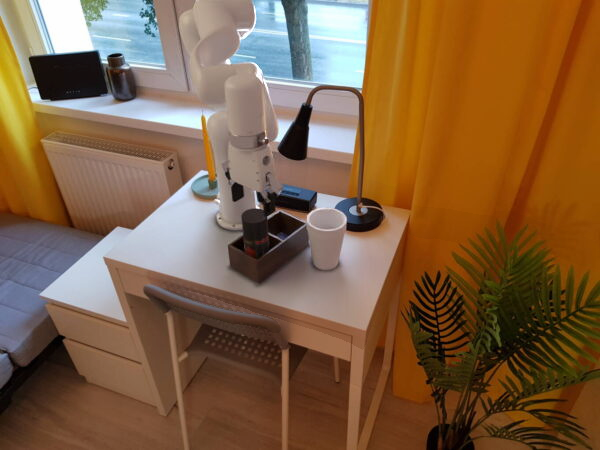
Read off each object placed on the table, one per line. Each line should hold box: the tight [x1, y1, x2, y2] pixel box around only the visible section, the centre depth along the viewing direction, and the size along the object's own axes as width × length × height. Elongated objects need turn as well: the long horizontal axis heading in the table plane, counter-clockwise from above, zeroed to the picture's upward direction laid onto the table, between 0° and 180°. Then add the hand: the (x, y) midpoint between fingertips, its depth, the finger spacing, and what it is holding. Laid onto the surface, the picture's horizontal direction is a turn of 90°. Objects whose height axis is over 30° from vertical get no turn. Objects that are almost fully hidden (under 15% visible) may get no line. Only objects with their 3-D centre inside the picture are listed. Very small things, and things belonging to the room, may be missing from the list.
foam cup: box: [306, 207, 348, 271], centre depth 118 cm, size 10×9×13 cm
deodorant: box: [241, 208, 269, 260], centre depth 116 cm, size 6×6×15 cm
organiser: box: [227, 209, 310, 285], centre depth 122 cm, size 10×19×7 cm, turn 141°
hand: (253, 206), depth 110 cm, fingers open, 9 cm apart
